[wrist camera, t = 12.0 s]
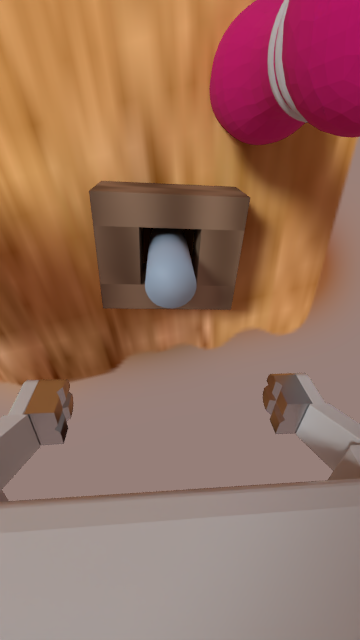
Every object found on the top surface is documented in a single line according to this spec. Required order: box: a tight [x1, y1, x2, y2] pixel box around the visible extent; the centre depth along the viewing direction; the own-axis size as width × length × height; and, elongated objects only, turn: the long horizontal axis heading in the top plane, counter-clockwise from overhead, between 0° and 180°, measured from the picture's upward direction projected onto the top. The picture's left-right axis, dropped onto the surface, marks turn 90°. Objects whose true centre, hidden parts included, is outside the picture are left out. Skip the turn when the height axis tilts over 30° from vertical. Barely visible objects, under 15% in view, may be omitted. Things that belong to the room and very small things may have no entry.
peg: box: [145, 228, 197, 308], centre depth 24 cm, size 4×4×10 cm
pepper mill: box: [210, 0, 360, 145], centre depth 13 cm, size 7×7×20 cm
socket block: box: [89, 181, 250, 310], centre depth 26 cm, size 12×10×5 cm
